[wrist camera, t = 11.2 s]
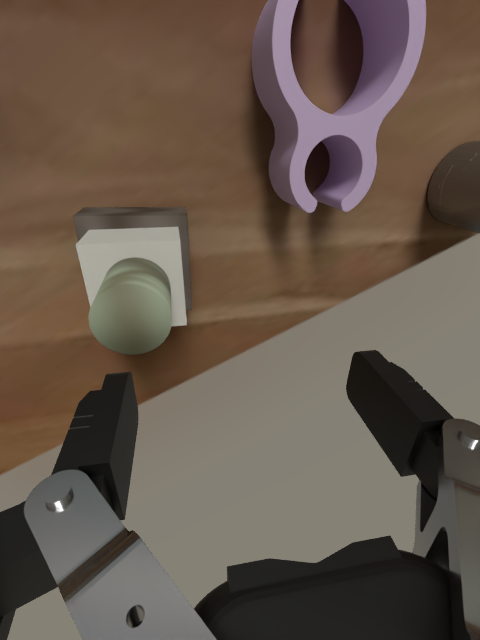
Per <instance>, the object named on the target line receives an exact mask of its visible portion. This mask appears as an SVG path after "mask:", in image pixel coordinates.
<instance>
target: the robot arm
mask: <svg viewBox="0 0 480 640" xmlns="http://www.w3.org/2000/svg"><path fill="white" fill-rule="evenodd" d="M427 202H428V207H429V210H430V212H431V214H432V215H433V217H434V218H435V219H437V220H438V221H440V222H443V223H446V224H450V225H453V226H457V227H460V228H464V229H467V230H470V231H474V232H477V233H480V141H473V142H469V143H465V144H463V145H460V146H458V147H457V148H455V149H454V150H452V151H451V152H450V153H449V154H448V155H447V156H446V157H445V158H444V159H443V160H442V161H441V162H440V164H439V165H438V166H437V168H436V170H435V172H434V174H433V175H432V178H431V181H430V183H429V188H428V193H427ZM346 390H347V395H348V398H349V400H350V402H351V403H352V405H353V406H354V408H355V409H356V411H357V412H358V414H359V415H360V417H361V418H362V420H363V421H364V423H365V424H366V426H367V427H368V428H369V430H370V431H371V433H372V434H373V436H374V437H375V439H376V440H377V442H378V443H379V445H380V446H381V448H382V449H383V451H384V452H385V454H386V455H387V457H388V458H389V459H390V461H391V462H392V464H393V465H394V467H395V468H396V470H397V471H398V473H399V474H400V476H401V477H402V476H408V475H415V474H416V475H417V477H418V478H419V482H418V485H417V498H416V499H417V500H416V525H415V543H414V548H413V552H412V553H410V552H406V551H402V550H398V549H397V547H396V545H395V543H394V542H393V540H392V538H391V536H386V537H380V538H375V539H369V540H365V541H359V542H354V543H351V544H349V545H348V546H346V547H344V548H343V549H341V550H339V551H337V552H336V553H334V554H332V555H330V556H329V557H327V558H325V559H323V560H322V561H320V562H318V563H306V562H297V561H288V560H279V559H264V560H259V561H254V562H249V563H243V564H239V565H233V566H228V567H227V581H226V582H225V583H223V584H221V585H219V586H218V587H217V588H215V589H214V590H212V591H211V592H210V593H208V594H207V595H206V596H205V597H204V598H203V599H202V600H201V601H200V602H199V603H198V604H197V606H196V607H195V608H194V609H193V607H192V606H191V605H190V604H189V602H188V601H187V599H186V598H185V597H184V595H183V594H182V593H181V591H180V590H179V589H178V587H177V586H176V585H175V583H174V582H173V580H172V579H171V578H170V576H169V575H168V574H167V572H166V571H165V570H164V568H163V567H162V566H161V565H160V563H159V562H158V560H157V559H156V558H155V556H154V555H153V554H152V552H151V551H150V550H149V548H148V547H147V546H146V544H145V543H144V542H143V540H142V539H141V538H140V537H139V536H138V534H137V533H135V532H134V531H133V530H132V531H130V532H129V531H128V530H127V529H126V528H125V527H124V525H123V524H122V522H121V521H120V520H124V519H125V514H126V506H127V499H128V492H129V485H130V477H131V471H132V464H133V457H134V450H135V442H136V435H137V428H138V406H137V401H136V395H135V390H134V384H133V379H132V374H131V372H123V373H112V374H107V375H106V376H105V379H104V383H103V386H102V389H101V390H96V391H90V392H89V393H88V394H87V395H86V396H85V397H84V398H83V399H82V400H81V401H80V402H79V404H78V407H77V409H76V412H75V414H74V419H73V420H72V422H71V425H70V430H68V433H67V435H66V438H65V441H64V443H63V446H62V448H61V452H60V454H59V457H58V459H57V462H56V464H55V467H54V469H53V472H52V474H51V476H49V477H47V478H46V479H44V480H43V481H42V482H40V483H39V484H38V485H37V486H36V487H35V488H34V489H33V490H32V492H31V493H30V494H29V496H28V498H27V500H26V501H24V502H22V503H21V504H19V505H16V506H14V507H12V508H9V509H7V510H5V511H2V512H0V640H7V637H8V634H9V631H10V627H11V624H12V621H13V617H14V614H15V610H16V609H17V608H19V607H21V606H23V605H24V604H26V603H28V602H30V601H32V600H34V599H36V598H38V597H40V596H41V595H43V594H45V593H47V592H49V591H51V590H53V589H55V588H56V587H59V589H60V593H61V595H62V597H63V599H64V601H65V603H66V605H67V607H68V609H69V612H70V614H71V616H72V618H73V620H74V622H75V624H76V626H77V629H78V631H79V633H80V635H81V637H82V639H83V640H480V425H478V424H476V423H473V422H471V421H468V420H464V419H454V418H453V417H452V416H451V415H450V414H449V413H448V412H447V411H446V410H445V409H444V408H443V407H442V406H441V405H440V404H439V403H438V402H437V401H436V400H435V399H434V398H433V397H432V396H431V395H430V394H429V393H428V392H427V391H426V390H423V387H422V386H420V384H419V383H418V382H415V380H414V379H413V377H412V376H410V375H409V374H408V373H407V372H406V371H405V370H404V369H402V368H401V367H399V366H397V365H395V364H393V363H392V362H388V361H387V360H386V359H385V358H384V357H383V356H382V355H381V354H380V353H379V352H378V351H376V350H372V351H360V352H355V353H354V354H353V357H352V361H351V366H350V370H349V375H348V380H347V385H346Z"/></svg>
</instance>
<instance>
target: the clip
mask: <svg viewBox="0 0 480 640" xmlns="http://www.w3.org/2000/svg"><path fill="white" fill-rule="evenodd" d="M298 1H299V0H268V1H267V3H266V5H265V7H264V9H263V11H262V13H261V15H260V17H259V20H258V23H257V26H256V29H255V33H254V38H253V44H252V58H251V61H252V74H253V80H254V85H255V88H256V92H257V94H258V97H259V99H260V102H261V104H262V105H263V107H264V109H265V111H266V112H267V113H268V115H269V116H270V118H271V120H272V122H273V125H274V130H275V141H274V146H273V149H272V152H271V155H270V159H269V178H270V182H271V185H272V187H273V189H274V191H275V192H276V194H277V195H278V196H279V197H280V198H281V199H282V200H283V201H285V202H287V203H289V204H291V205H293V206H295V207H297V208H299V209H301V210H304V211H306V212H308V213H312V212H313V211H314V210H315V208H316V206H317V201H318V202H321V203H324V204H326V205H329V206H332V207H334V208H337V209H340V210H342V211H345V212H348V211H350V210H351V209H353V208H354V207H355V206H356V205H357V204H358V203H359V202H360V201H361V200H362V199H363V197H364V196H365V195H366V193H367V192H368V190H369V188H370V186H371V184H372V181H373V179H374V175H375V171H376V164H377V153H376V137H377V132H378V129H379V127H380V124H381V122H382V120H383V119H384V117H385V116H386V114H387V113H388V112H389V111H390V110H391V109H392V108H393V106H394V105H395V104H396V103H397V102H398V100H399V99H400V97H401V96H402V95H403V93H404V91H405V90H406V88H407V86H408V84H409V83H410V81H411V79H412V76H413V74H414V72H415V69H416V67H417V64H418V61H419V58H420V54H421V51H422V46H423V41H424V35H425V27H426V2H425V0H344V1H345V2H346V3H347V4H348V5H349V6H350V8H351V9H352V11H353V12H354V14H355V16H356V18H357V20H358V23H359V25H360V29H361V33H362V38H363V63H362V69H361V73H360V76H359V79H358V82H357V85H356V87H355V89H354V91H353V93H352V94H351V96H350V97H349V99H348V100H347V101H346V103H345V104H344V105H343V106H342V107H341V108H340V109H339V110H338V111H336V112H335V113H334V114H329V113H326V112H324V111H322V110H320V109H319V108H317V107H316V106H315V105H313V104H312V103H311V102H310V101H309V100H308V98H307V97H306V96H305V94H304V93H303V91H302V90H301V88H300V86H299V84H298V82H297V79H296V76H295V73H294V70H293V66H292V60H291V50H290V37H291V27H292V22H293V17H294V13H295V9H296V6H297V4H298ZM320 141H321V142H323V143H324V145H325V146H326V148H327V150H328V152H329V157H330V167H329V171H328V174H327V177H326V179H325V180H324V182H323V183H322V184H321V185H320V186H319V187H318V188H317V189H316V190H315V191H314V193H313V196H314V197H313V196H312V195H311V193H310V192H309V190H308V188H307V186H306V183H305V165H306V162H307V159H308V157H309V155H310V153H311V151H312V150H313V148H314V147H315V146H316V145H317V144H318V143H319V142H320Z"/></svg>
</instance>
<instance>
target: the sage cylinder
mask: <svg viewBox="0 0 480 640" xmlns="http://www.w3.org/2000/svg"><path fill="white" fill-rule="evenodd" d="M89 325H90V329H91V331H92V333H93V335H94V336H95V338H96V339H97V340H98V341H99V342H100V343H101V344H102V345H104V346H105V347H107V348H108V349H110V350H113V351H115V352H118V353H122V354H129V355H135V354H142V353H146V352H149V351H151V350H153V349H155V348H157V347H158V346H159V345H161V344H162V343H163V342H164V341H165V339H166V338H167V337H168V335H169V333H170V330H171V325H172V313H171V286H170V281H169V279H168V276H167V275H166V273H165V272H164V270H163V269H162V268H161V267H160V266H158V265H157V264H156V263H154V262H152V261H150V260H147V259H144V258H136V257H134V258H126V259H123V260H121V261H119V262H117V263H115V264H114V265H113V266H112V267H111V268H110V269H109V270H108V272H107V273H106V275H105V278H104V280H103V282H102V284H101V286H100V288H99V290H98V292H97V295H96V297H95V299H94V301H93V303H92V305H91V308H90V311H89Z"/></svg>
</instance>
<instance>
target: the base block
mask: <svg viewBox="0 0 480 640" xmlns="http://www.w3.org/2000/svg"><path fill="white" fill-rule="evenodd" d="M73 218H74V223H75V228H76V233H77V237H78V242H79V240H80V239H81V238H82V237H83V236H84V235H85V234H86V233H87V232H88V230H100V229H128V228H157V227H178V229H179V235H180V244H181V256H182V269H183V281H184V294H185V306H186V311H188V310H192V308H191V286H190V264H189V243H188V221H187V213H186V209H185V207H84V208H83V209H82V210H80V211H79V212H78V213H77V214H75V215H74V216H73Z"/></svg>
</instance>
